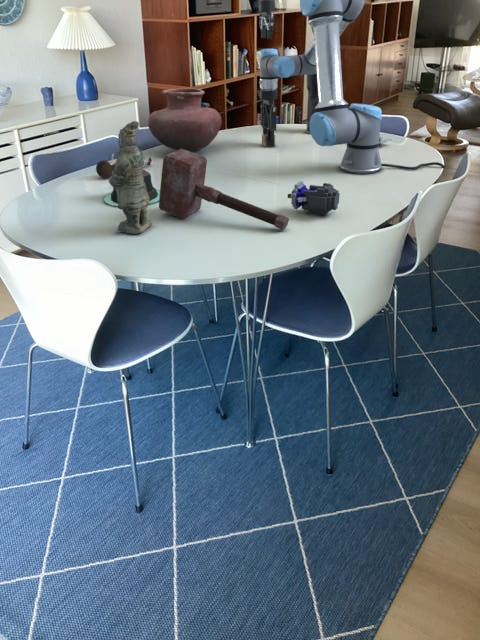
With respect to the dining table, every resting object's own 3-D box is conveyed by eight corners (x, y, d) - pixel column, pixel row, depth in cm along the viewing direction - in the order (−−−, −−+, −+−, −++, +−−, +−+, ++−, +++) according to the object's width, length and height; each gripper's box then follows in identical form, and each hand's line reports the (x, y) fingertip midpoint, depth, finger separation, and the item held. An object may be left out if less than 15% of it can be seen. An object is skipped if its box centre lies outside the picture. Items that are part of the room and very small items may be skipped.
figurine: (158, 154, 218) (111, 160, 199) (158, 173, 221) (112, 181, 202) (133, 150, 225) (86, 155, 206) (134, 169, 228) (87, 176, 209)
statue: (131, 220, 168) (117, 116, 152) (158, 224, 164) (147, 118, 149) (109, 233, 159) (93, 124, 144) (138, 237, 156) (124, 126, 140)
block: (271, 144, 250) (271, 133, 247) (275, 146, 246) (275, 135, 244) (261, 145, 249) (261, 134, 246) (265, 147, 245) (265, 136, 243)
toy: (295, 178, 172) (342, 184, 166) (295, 205, 177) (340, 211, 171) (285, 186, 166) (333, 192, 160) (284, 213, 170) (331, 220, 164)
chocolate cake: (91, 202, 180) (113, 186, 197) (142, 231, 182) (160, 212, 199) (107, 162, 172) (129, 148, 190) (160, 192, 174) (177, 176, 192)
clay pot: (228, 143, 251) (226, 84, 239) (213, 161, 226) (210, 95, 213) (163, 142, 256) (158, 84, 243) (142, 159, 231) (135, 95, 218)
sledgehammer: (299, 190, 156) (179, 147, 167) (285, 200, 148) (161, 154, 160) (286, 244, 166) (174, 200, 177) (272, 256, 158) (156, 209, 170)
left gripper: (254, 0, 267) (254, 37, 275) (264, 0, 255) (264, 39, 263) (268, -1, 269) (268, 37, 277) (279, -1, 257) (279, 38, 265)
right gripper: (253, 87, 242) (253, 141, 254) (268, 92, 227) (267, 150, 239) (269, 85, 244) (268, 140, 256) (285, 91, 229) (284, 148, 241)
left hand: (266, 38), depth 270 cm, fingers open, 8 cm apart
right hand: (268, 145), depth 247 cm, fingers open, 5 cm apart
